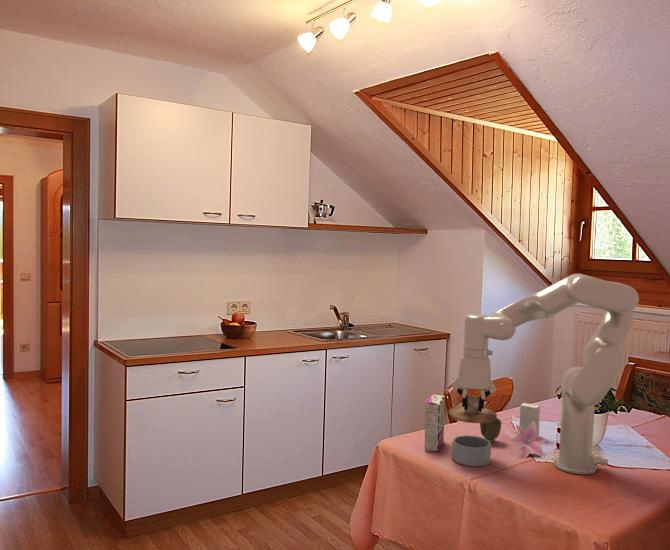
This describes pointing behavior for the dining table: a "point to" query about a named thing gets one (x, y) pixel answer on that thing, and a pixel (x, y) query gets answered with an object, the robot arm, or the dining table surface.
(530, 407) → the skincare box
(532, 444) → the lily
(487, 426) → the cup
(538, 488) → the dining table surface
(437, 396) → the candy bar box
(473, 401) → the lid
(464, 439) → the bowl
